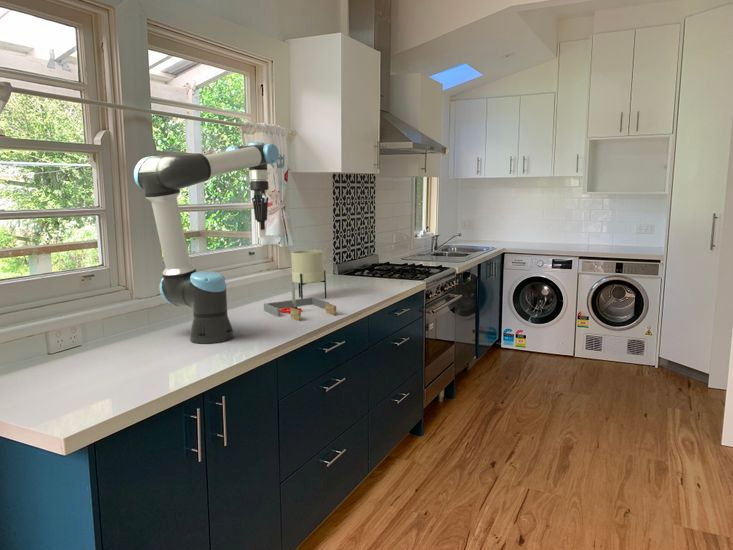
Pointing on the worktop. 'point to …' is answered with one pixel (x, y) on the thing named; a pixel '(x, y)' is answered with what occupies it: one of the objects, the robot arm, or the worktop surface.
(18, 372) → the worktop surface
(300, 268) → the planter
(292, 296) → the tow hook
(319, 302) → the grey piece
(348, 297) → the worktop surface
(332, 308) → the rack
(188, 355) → the worktop surface
